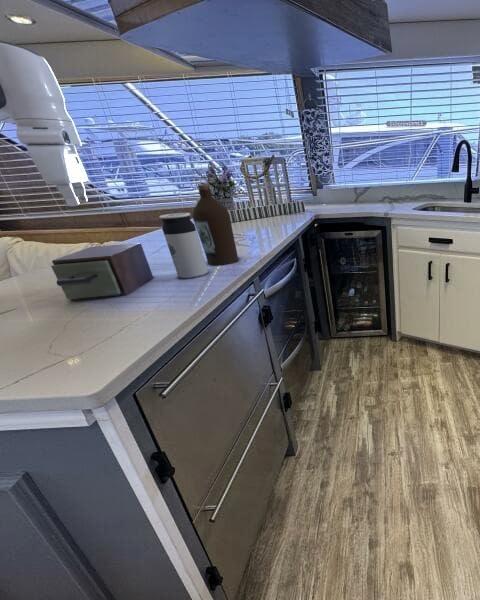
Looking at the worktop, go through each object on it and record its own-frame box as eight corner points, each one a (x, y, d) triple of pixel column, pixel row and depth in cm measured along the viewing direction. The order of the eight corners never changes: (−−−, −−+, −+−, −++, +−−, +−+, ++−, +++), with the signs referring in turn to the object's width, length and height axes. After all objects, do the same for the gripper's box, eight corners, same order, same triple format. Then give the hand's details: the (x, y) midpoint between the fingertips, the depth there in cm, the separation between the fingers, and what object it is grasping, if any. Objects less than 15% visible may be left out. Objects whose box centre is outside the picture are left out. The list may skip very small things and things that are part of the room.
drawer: (108, 300, 78) (93, 266, 75) (54, 306, 76) (36, 271, 73) (145, 277, 94) (134, 248, 91) (101, 281, 92) (88, 252, 89)
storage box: (126, 294, 84) (110, 255, 80) (71, 300, 82) (51, 260, 78) (153, 277, 97) (140, 242, 93) (106, 281, 95) (91, 246, 91)
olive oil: (228, 255, 118) (209, 183, 108) (246, 259, 113) (229, 183, 103) (199, 263, 109) (176, 186, 99) (218, 267, 104) (196, 186, 94)
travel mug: (205, 268, 103) (188, 211, 96) (210, 274, 98) (193, 214, 91) (176, 274, 99) (156, 215, 92) (180, 280, 93) (159, 218, 86)
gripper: (45, 140, 75) (71, 201, 80) (12, 132, 59) (47, 209, 64) (81, 140, 78) (103, 199, 83) (58, 133, 62) (88, 206, 68)
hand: (78, 204), depth 74 cm, fingers open, 8 cm apart
